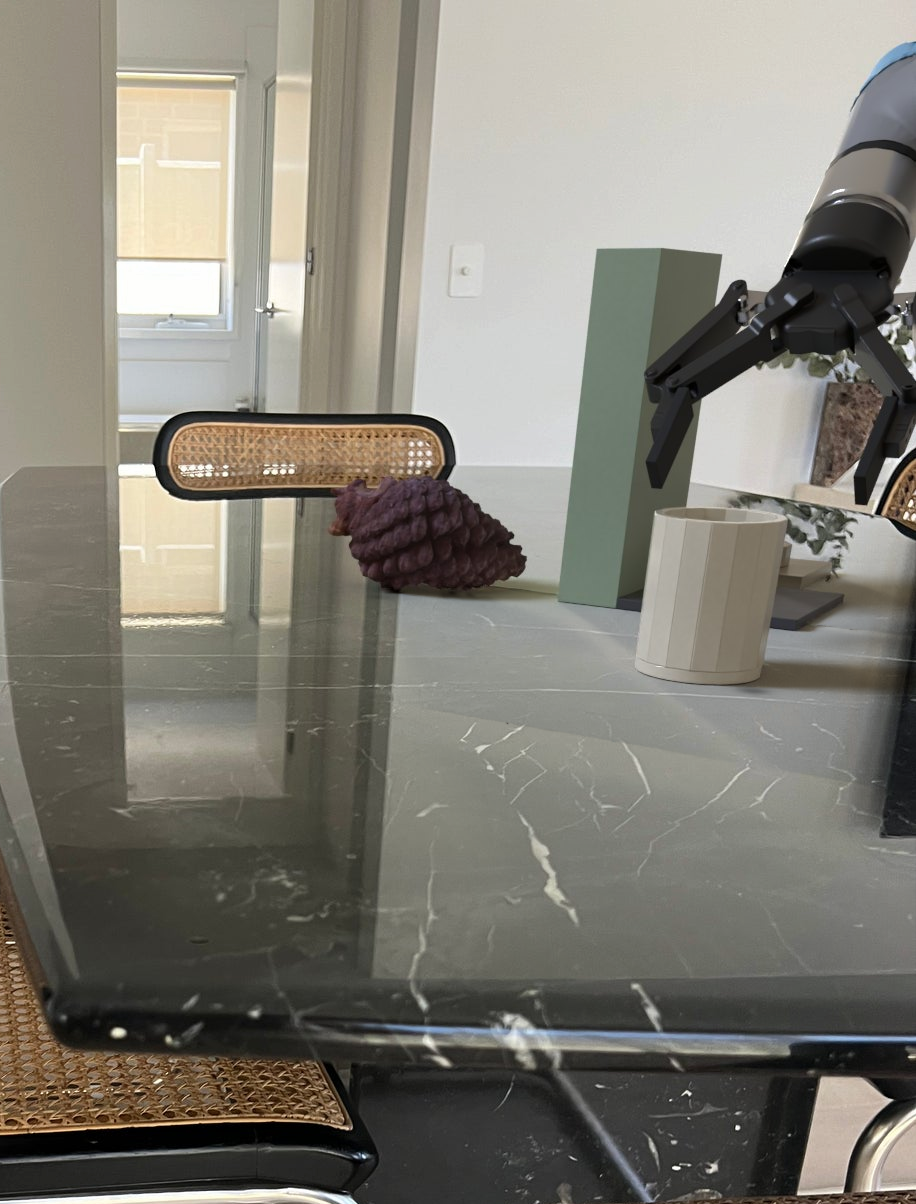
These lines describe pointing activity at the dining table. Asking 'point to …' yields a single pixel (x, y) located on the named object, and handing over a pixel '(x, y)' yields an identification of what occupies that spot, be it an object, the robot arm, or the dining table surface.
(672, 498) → the coffee machine
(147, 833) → the dining table surface
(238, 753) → the dining table surface
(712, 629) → the cup
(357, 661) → the dining table surface
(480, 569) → the pine cone
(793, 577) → the block
